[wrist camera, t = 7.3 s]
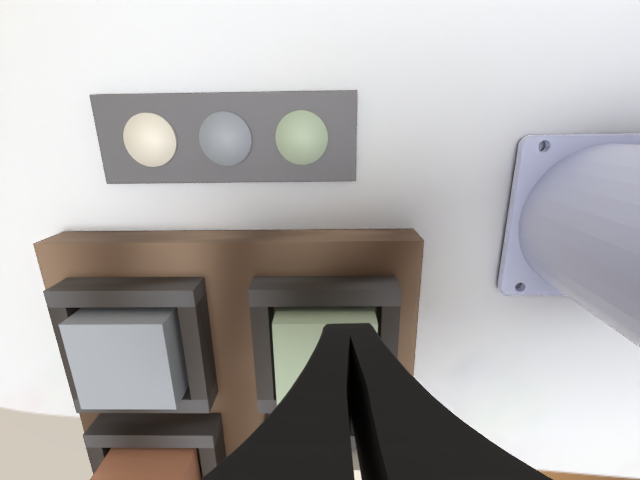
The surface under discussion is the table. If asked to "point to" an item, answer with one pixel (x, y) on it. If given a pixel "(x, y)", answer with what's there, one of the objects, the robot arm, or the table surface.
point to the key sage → (306, 337)
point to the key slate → (126, 357)
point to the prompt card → (227, 136)
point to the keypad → (225, 315)
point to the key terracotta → (149, 464)
